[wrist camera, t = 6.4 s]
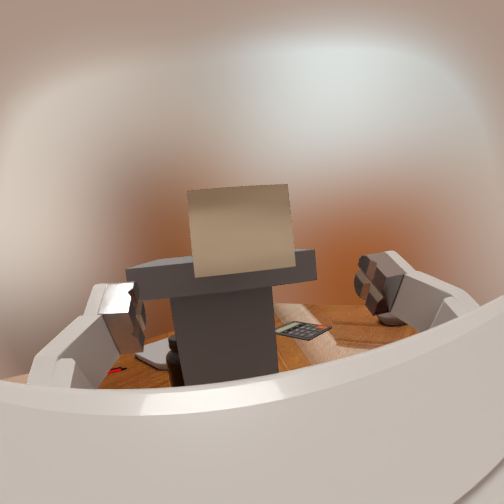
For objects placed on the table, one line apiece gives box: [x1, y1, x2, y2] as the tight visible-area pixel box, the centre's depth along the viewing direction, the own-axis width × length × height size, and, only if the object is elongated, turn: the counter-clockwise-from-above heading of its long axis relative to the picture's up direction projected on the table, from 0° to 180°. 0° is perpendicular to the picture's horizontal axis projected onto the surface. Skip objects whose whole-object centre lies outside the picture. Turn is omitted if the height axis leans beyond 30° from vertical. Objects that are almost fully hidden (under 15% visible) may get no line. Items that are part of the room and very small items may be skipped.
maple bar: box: [187, 184, 296, 278], centre depth 19 cm, size 22×3×2 cm, turn 11°
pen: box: [107, 367, 127, 374], centre depth 53 cm, size 1×19×1 cm, turn 130°
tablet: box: [134, 338, 171, 370], centre depth 72 cm, size 16×26×2 cm, turn 141°
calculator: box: [275, 321, 332, 341], centre depth 80 cm, size 12×1×15 cm
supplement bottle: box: [166, 335, 185, 387], centre depth 46 cm, size 7×7×12 cm
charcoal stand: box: [126, 249, 317, 386], centre depth 24 cm, size 14×12×26 cm
